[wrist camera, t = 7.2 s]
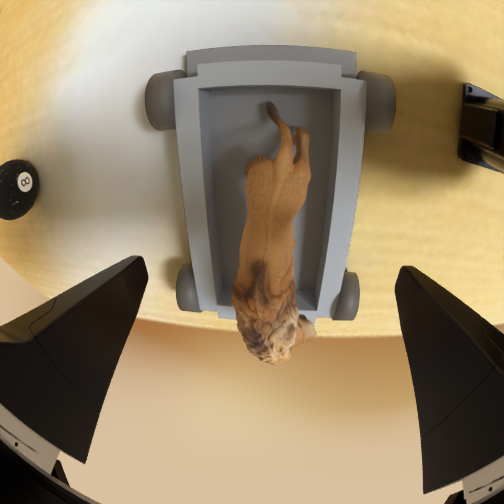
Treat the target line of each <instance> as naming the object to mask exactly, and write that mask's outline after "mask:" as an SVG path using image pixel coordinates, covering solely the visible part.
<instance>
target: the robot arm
mask: <svg viewBox="0 0 504 504" xmlns="http://www.w3.org/2000/svg"><path fill="white" fill-rule="evenodd" d="M468 87H469V88H470V91H468ZM463 152H464V156H462V154H463ZM458 157H459V159H461V160H463V161H466V162H469V163H473V164H476V165H480V166H483V167H486V168H489V169H492V170H495V171H498V172H501V173H504V100H502V99H501V98H499V97H497V96H495V95H493V94H491V93H489V92H487V91H485V90H483V89H481V88H479V87H477V86H475V85H472V84H470V83H465V84H464V85H463V103H462V115H461V126H460V138H459V146H458ZM147 282H148V272H147V269H146V265H145V262H144V259H143V257H142V256H130V257H128V258H126V259H124V260H122V261H120V262H118V263H116V264H114V265H112V266H110V267H109V268H107V269H105V270H103V271H101V272H99V273H97V274H95V275H94V276H92V277H90V278H88V279H86V280H84V281H83V282H81V283H79V284H77V285H75V286H74V287H72V288H70V289H68V290H66V291H65V292H63V293H61V294H59V295H58V296H56V297H54V298H52V299H51V300H49V301H47V302H45V303H44V304H42V305H40V306H39V307H36V308H35V309H33V310H31V311H29V312H27V313H25V314H23V315H21V316H20V317H18V318H16V319H14V320H12V321H10V322H8V323H6V324H4V325H2V326H0V504H100V503H98V502H96V501H94V500H92V499H90V498H89V497H87V496H85V495H83V494H81V493H79V492H78V491H76V490H74V489H72V488H71V487H70V486H69V483H68V481H67V478H66V476H65V473H64V470H63V467H62V465H61V462H60V461H59V460H57V457H58V455H59V452H60V451H62V452H64V453H65V454H67V455H69V456H70V457H72V458H74V459H76V460H78V461H80V462H82V463H83V464H85V463H86V460H87V456H88V452H89V449H90V445H91V442H92V438H93V435H94V431H95V428H96V425H97V421H98V418H99V415H100V412H101V409H102V405H103V402H104V400H105V397H106V394H107V390H108V388H109V385H110V382H111V379H112V377H113V374H114V371H115V369H116V366H117V363H118V361H119V358H120V355H121V353H122V350H123V348H124V345H125V343H126V340H127V338H128V335H129V333H130V330H131V328H132V326H133V323H134V321H135V319H136V316H137V313H138V310H139V307H140V304H141V301H142V298H143V295H144V292H145V288H146V285H147ZM395 296H396V301H397V307H398V313H399V319H400V326H401V331H402V335H403V339H404V343H405V347H406V352H407V356H408V361H409V365H410V370H411V375H412V381H413V386H414V392H415V397H416V404H417V411H418V419H419V427H420V437H421V451H422V466H423V494H426V493H429V492H432V491H435V490H438V489H441V488H444V487H446V486H449V485H451V484H454V483H456V482H459V481H461V480H462V482H463V490H461V491H459V492H457V493H454V494H452V495H450V496H449V497H448V499H447V500H446V502H445V503H444V504H504V334H503V333H501V332H500V331H499V330H498V329H497V328H495V327H494V326H493V325H492V324H490V323H489V322H488V321H487V320H485V319H484V318H483V317H482V318H481V316H480V315H479V314H478V313H477V312H475V311H474V310H473V309H471V308H470V307H469V306H468V305H466V304H465V303H464V302H462V301H461V300H460V299H458V298H457V297H456V296H454V295H453V294H452V293H450V292H449V291H448V290H446V289H445V288H444V287H442V286H441V285H439V284H438V283H437V282H435V281H434V280H432V279H431V278H430V277H428V276H427V275H425V274H424V273H422V272H421V271H419V270H418V269H417V268H415V267H414V266H402V267H401V269H400V271H399V275H398V278H397V281H396V284H395Z"/></svg>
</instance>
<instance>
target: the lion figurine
mask: <svg viewBox="0 0 504 504" xmlns="http://www.w3.org/2000/svg"><path fill="white" fill-rule="evenodd" d="M265 105H266V109H267V112H268V116H269V118H270V119H271V120H272V121H273V122H274V123H275V124H276V125H277V127H278V128H279V130H280V134H281V144H280V148H279V152H278V155H277V156H276V157H275V159H274V160H273V159H265V156H264V155H262V154H259V155H258V156H257V157H256V158H255V159H254V160H252V161H250V162H249V163H248V165H247V166H246V168H245V173H246V175H247V183H246V195H247V208H248V217H247V221H246V224H245V228H244V232H243V236H242V239H241V243H240V255H239V260H240V266H239V268H238V272H237V278H236V279H235V281H234V283H233V286H232V288H231V289H232V299H231V303H232V305H233V307H234V308H235V311H236V320H237V321H238V323H237V327H238V330H239V331H240V332H241V334H242V336H243V340H244V342H245V343H246V345H247V349H248V350H249V351H250V353H252V354H253V355H254V356H257V357H258V358H259V359H260V361H263V362H266V363H270V364H273V365H279V364H281V363H282V362H285V361H287V360H289V359H290V357H291V351H293V350H295V349H297V348H298V346H299V345H300V344H301V343H304V342H307V341H311V340H313V339H314V338H315V337H316V336H317V332H316V331H315V326H314V324H313V323H312V322H311V321H310V320H308V319H307V318H306V316H305V315H304V314H299V310H298V303H297V301H296V300H295V297H296V285H295V281H294V279H293V275H294V268H293V265H294V256H293V249H294V247H295V246H296V241H295V240H294V238H293V219H294V217H295V216H296V214H297V213H298V211H299V210H300V208H301V207H302V205H303V204H304V202H305V199H306V194H307V187H308V183H309V181H310V178H311V172H310V167H309V157H308V144H309V135H308V132H307V130H306V129H305V128H303V127H296V128H295V129H294V130H293V132H292V136H291V131H290V129H289V127H288V126H287V124H286V123H285V122H284V121H283V120H282V119H281V117H280V116H279V114H278V109H277V108H276V107H275V105H274V104H273V103H272V102H271V101H267V102H266V103H265ZM292 142H293V143H292ZM293 144H295V145H296V155H295V157H294V159H293Z"/></svg>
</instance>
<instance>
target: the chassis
mask: <svg viewBox="0 0 504 504" xmlns="http://www.w3.org/2000/svg"><path fill="white" fill-rule="evenodd" d="M267 101H271V102H272V103H273V104H274V105H275V107H276V108H277V109H278V114H279V116H280V117H281V119H282V120H283V121H284V122H285V123H286V124H287V126H288V127H289V129H290V131H291V136H292V132H293V130H294V129H295V128H296V127H303V128H305V129H306V130H307V132H308V135H309V144H308V157H309V167H310V172H311V178H310V181H309V183H308V187H307V194H306V199H305V202H304V204H303V205H302V207H301V208H300V210H299V211H298V213H297V214H296V216H295V217H294V219H293V238H294V240H295V241H296V246H295V247H294V249H293V256H294V265H293V268H294V275H293V279H294V281H295V285H296V297H295V300H296V301H297V303H298V310H299V314H304V315H305V316H306V318H307V319H308V320H310V321H311V322H312V323H313V324H314V323H315V318H332V320H354V319H355V317H356V314H357V311H358V307H359V298H360V288H359V280H358V277H357V274H356V273H354V272H344V271H345V267H346V262H347V257H348V252H349V246H350V241H351V235H352V230H353V224H354V217H355V211H356V204H357V197H358V190H359V182H360V174H361V165H362V155H363V145H364V132H366V133H373V134H379V135H386V134H387V133H388V132H389V131H390V129H391V127H392V125H393V122H394V118H395V112H396V93H395V88H394V85H393V82H392V80H391V79H390V77H388V76H386V75H381V74H376V73H371V72H365V71H360V72H359V73H358V75H357V77H356V52H351V51H344V50H337V49H329V48H319V47H307V46H288V45H251V46H232V47H219V48H210V49H201V50H194V51H187V75H186V74H185V72H184V71H182V70H175V71H169V72H163V73H158V74H154V75H153V76H152V77H151V78H150V79H149V81H148V84H147V87H146V92H145V107H146V112H147V116H148V119H149V121H150V123H151V125H152V126H153V127H154V128H155V129H156V130H159V131H160V130H169V129H176V133H177V146H178V157H179V167H180V177H181V186H182V195H183V203H184V211H185V218H186V226H187V233H188V240H189V247H190V253H191V260H192V265H191V264H184V265H183V266H182V267H181V269H180V271H179V274H178V277H177V283H176V299H177V304H178V307H179V309H180V310H182V311H190V312H202V311H214V312H218V317H219V318H223V319H234V320H236V311H235V308H234V307H233V305H232V303H231V299H232V289H231V288H232V286H233V283H234V281H235V279H236V278H237V272H238V268H239V266H240V260H239V255H240V243H241V239H242V236H243V232H244V228H245V224H246V221H247V217H248V208H247V195H246V183H247V175H246V173H245V168H246V166H247V165H248V163H249V162H250V161H252V160H254V159H255V158H256V157H257V156H258V155H259V154H262V155H264V156H265V159H273V160H274V159H275V157H276V156H277V155H278V152H279V148H280V144H281V134H280V130H279V128H278V127H277V125H276V124H275V123H274V122H273V121H272V120H271V119H270V118H269V116H268V112H267V109H266V105H265V103H266V102H267ZM292 143H293V142H292ZM295 155H296V145H295V144H293V159H294V157H295Z"/></svg>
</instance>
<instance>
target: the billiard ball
mask: <svg viewBox="0 0 504 504" xmlns="http://www.w3.org/2000/svg"><path fill="white" fill-rule="evenodd" d="M37 194H38V180H37V176H36V173H35V171H34V169H33V168H32V167H31V166H30V165H29V164H28V163H27V162H25V161H23V160H11V161H8V162H6V163H4V164H2V165H1V166H0V218H2V219H4V220H14V219H17V218H20V217H22V216H23V215H24V214H26V213H27V212H28V211H29V210H30V209H31V207H32V206H33V204H34V203H35V200H36V198H37Z"/></svg>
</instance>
